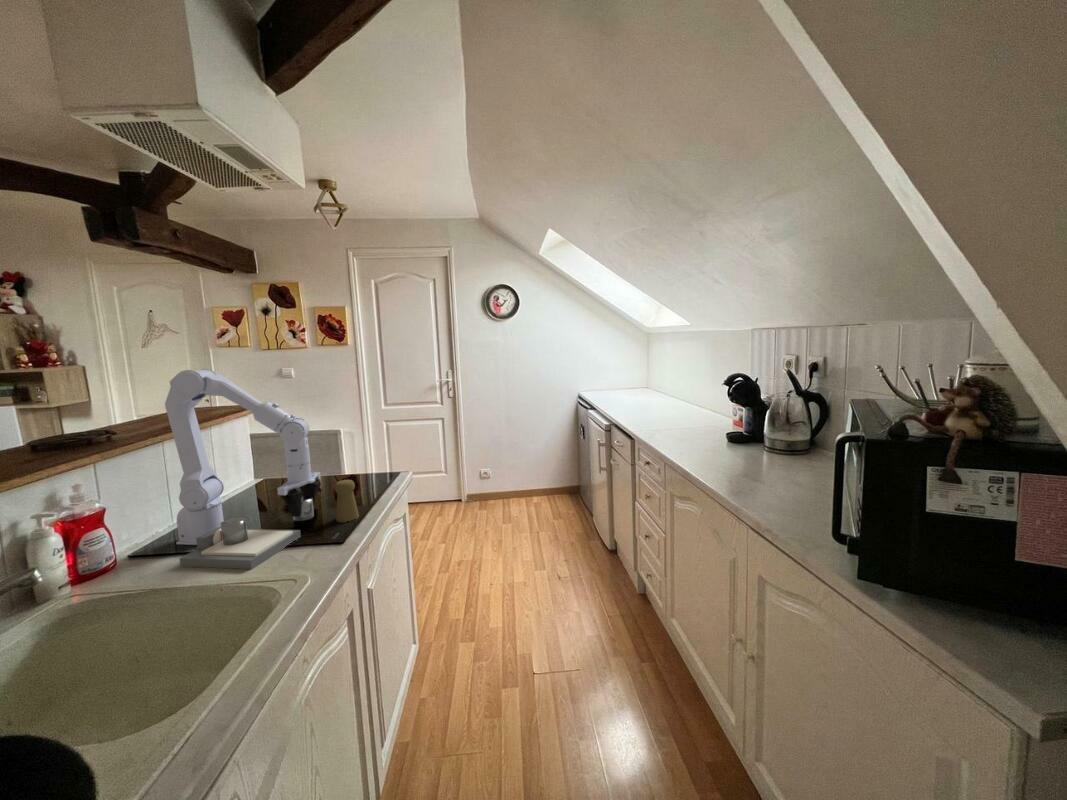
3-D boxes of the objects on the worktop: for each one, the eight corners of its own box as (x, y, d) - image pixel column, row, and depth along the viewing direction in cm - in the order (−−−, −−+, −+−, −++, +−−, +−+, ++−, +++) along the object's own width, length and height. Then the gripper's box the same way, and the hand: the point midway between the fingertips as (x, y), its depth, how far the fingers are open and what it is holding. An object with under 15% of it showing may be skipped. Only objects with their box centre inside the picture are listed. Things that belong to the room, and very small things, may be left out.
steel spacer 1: (217, 544, 101) (215, 524, 100) (236, 535, 105) (233, 516, 105) (235, 545, 100) (233, 525, 99) (253, 536, 104) (250, 517, 104)
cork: (363, 514, 124) (359, 477, 123) (352, 522, 118) (348, 484, 117) (343, 514, 125) (340, 477, 123) (331, 522, 119) (328, 484, 117)
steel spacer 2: (289, 521, 114) (287, 503, 113) (299, 514, 119) (297, 496, 118) (308, 520, 114) (306, 502, 113) (317, 513, 119) (315, 496, 118)
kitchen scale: (180, 566, 96) (177, 543, 95) (238, 535, 112) (236, 515, 111) (251, 569, 93) (248, 545, 93) (301, 537, 109) (298, 516, 109)
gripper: (293, 471, 107) (298, 523, 108) (328, 457, 121) (332, 502, 123) (268, 471, 108) (273, 522, 109) (305, 457, 122) (310, 502, 124)
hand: (303, 512), depth 116 cm, fingers closed on steel spacer 2, 5 cm apart
